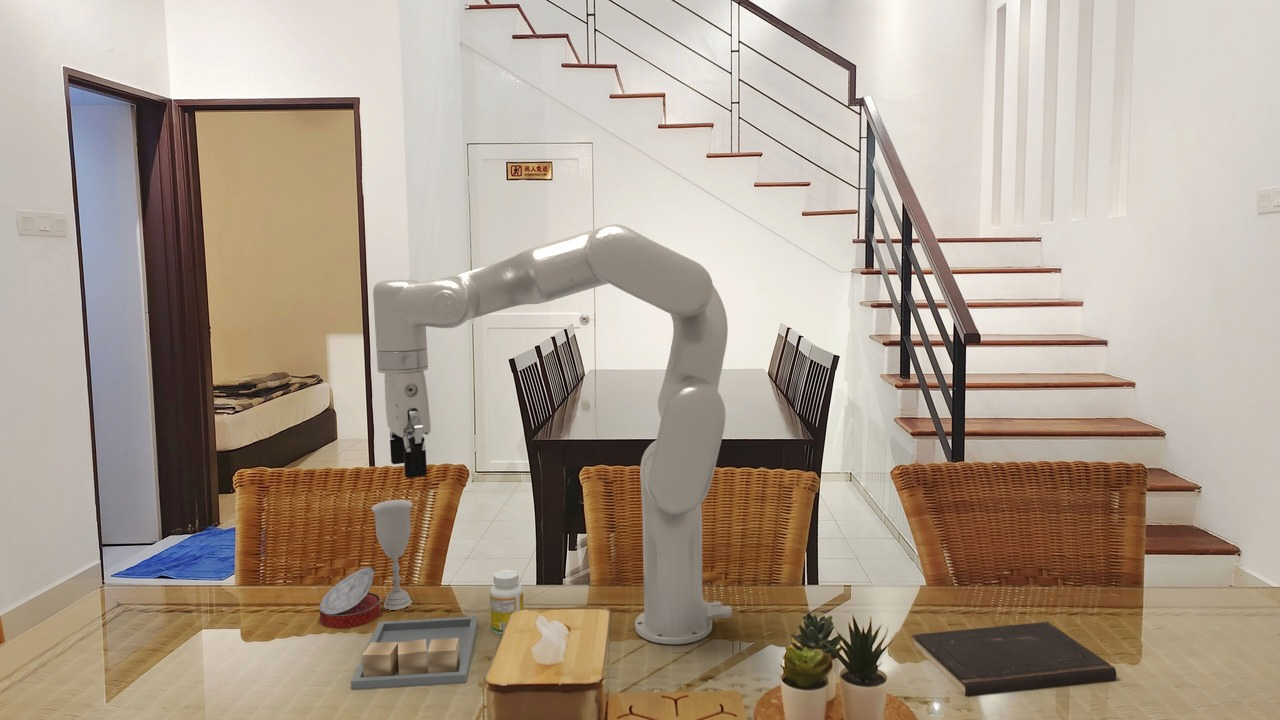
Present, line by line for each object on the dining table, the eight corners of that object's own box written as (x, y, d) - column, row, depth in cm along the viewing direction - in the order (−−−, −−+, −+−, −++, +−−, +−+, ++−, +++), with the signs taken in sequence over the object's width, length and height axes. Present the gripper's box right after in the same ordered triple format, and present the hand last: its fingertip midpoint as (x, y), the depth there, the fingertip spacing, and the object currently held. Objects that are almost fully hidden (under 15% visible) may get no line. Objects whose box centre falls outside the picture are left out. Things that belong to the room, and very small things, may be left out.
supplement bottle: (506, 640, 141) (504, 583, 140) (484, 631, 144) (482, 575, 143) (531, 628, 145) (529, 572, 144) (509, 620, 148) (507, 565, 147)
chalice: (406, 614, 151) (400, 513, 149) (369, 611, 153) (363, 511, 150) (424, 597, 158) (419, 500, 156) (390, 595, 160) (384, 499, 157)
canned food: (372, 652, 148) (366, 614, 142) (313, 646, 148) (304, 608, 142) (392, 598, 157) (387, 560, 151) (336, 593, 157) (328, 555, 151)
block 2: (427, 664, 132) (425, 639, 131) (427, 676, 128) (426, 650, 128) (399, 668, 131) (398, 642, 130) (399, 680, 127) (397, 654, 127)
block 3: (459, 663, 132) (458, 638, 131) (456, 676, 128) (455, 650, 128) (432, 665, 132) (431, 639, 131) (428, 678, 128) (427, 651, 127)
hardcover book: (911, 648, 137) (912, 634, 136) (1047, 635, 140) (1047, 621, 140) (965, 700, 121) (965, 684, 121) (1116, 684, 125) (1117, 668, 124)
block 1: (399, 667, 131) (398, 642, 130) (391, 681, 127) (389, 654, 126) (373, 667, 131) (371, 642, 131) (363, 681, 127) (362, 654, 127)
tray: (478, 626, 146) (477, 616, 146) (465, 686, 126) (465, 674, 126) (379, 632, 145) (379, 621, 144) (351, 693, 125) (350, 681, 125)
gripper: (441, 365, 129) (447, 479, 131) (414, 353, 144) (419, 455, 147) (389, 369, 126) (396, 486, 128) (366, 356, 141) (373, 461, 143)
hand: (408, 469), depth 137 cm, fingers open, 9 cm apart
